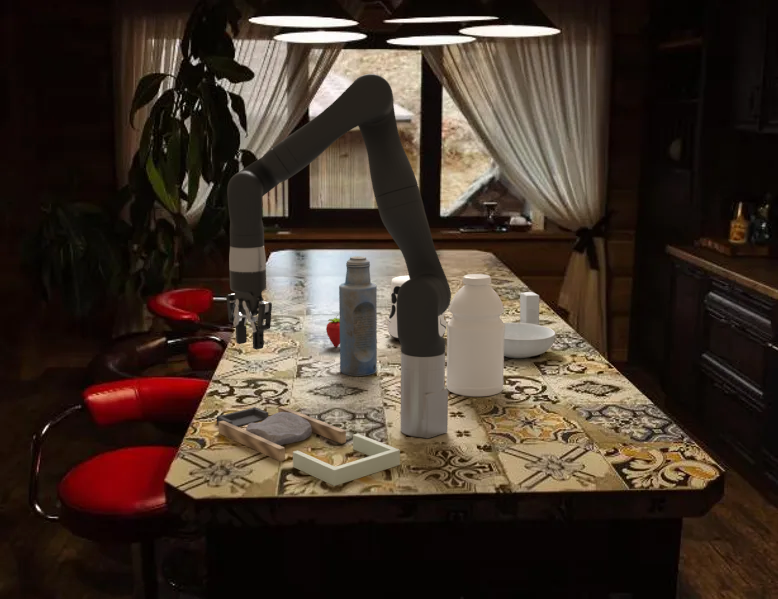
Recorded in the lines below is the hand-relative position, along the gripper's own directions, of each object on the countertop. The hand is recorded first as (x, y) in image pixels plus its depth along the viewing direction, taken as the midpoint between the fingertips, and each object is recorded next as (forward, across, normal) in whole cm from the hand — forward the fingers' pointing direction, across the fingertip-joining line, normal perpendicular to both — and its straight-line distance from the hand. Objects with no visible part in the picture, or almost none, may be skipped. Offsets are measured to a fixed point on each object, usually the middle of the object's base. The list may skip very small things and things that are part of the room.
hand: (249, 345), depth 204 cm
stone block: (+18, -11, 0) cm, 21 cm away
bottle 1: (+18, +18, -45) cm, 52 cm away
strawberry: (+18, +42, -57) cm, 73 cm away
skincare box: (+18, +18, -113) cm, 116 cm away
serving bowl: (+18, +3, -90) cm, 92 cm away
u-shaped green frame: (+18, -32, 0) cm, 36 cm away
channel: (+18, -11, 0) cm, 21 cm away
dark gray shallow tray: (+18, +4, 0) cm, 18 cm away
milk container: (+18, +34, -81) cm, 90 cm away
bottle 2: (+18, -13, -56) cm, 60 cm away
